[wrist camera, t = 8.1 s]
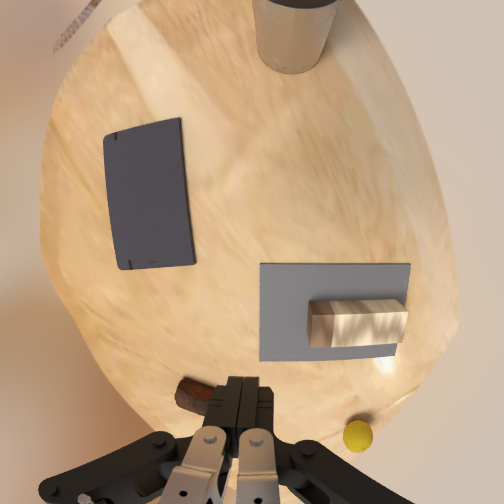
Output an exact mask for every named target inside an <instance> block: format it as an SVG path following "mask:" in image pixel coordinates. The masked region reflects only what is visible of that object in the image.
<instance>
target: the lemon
mask: <svg viewBox="0 0 504 504" xmlns="http://www.w3.org/2000/svg"><path fill="white" fill-rule="evenodd" d="M343 440H344V443H345V445H346V447H347V448H348V449H349V450H350V451H352V452H363V451H365V450H366V449H367V448H369V447H370V445H371V443H372V440H373V434H372V430H371V428H370V426H369V425H368V424H367V423H366V422H364V421H359V420H358V421H353V422H351V423H350V424H348V425H347V426H346V428H345V430H344V432H343Z"/></svg>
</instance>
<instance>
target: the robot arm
mask: <svg viewBox="0 0 504 504" xmlns="http://www.w3.org/2000/svg"><path fill="white" fill-rule="evenodd" d="M252 3H253V11H254V20H255V28H256V38H257V46H258V52H259V56H260V57H261V59H262V61H263V62H264V63H265V64H266V65H267V66H269V67H270V68H271V69H274V70H276V71H278V72H282V73H287V74H298V73H302V72H305V71H307V70H309V69H311V68H312V67H313V66H315V64H316V63H317V62H318V60H319V58H320V55H321V52H322V50H323V47H324V45H325V42H326V39H327V36H328V34H329V31H330V28H331V25H332V23H333V20H334V17H335V15H336V12H337V9H338V6H339V3H340V0H252ZM273 414H274V393H273V392H272V390H271V388H270V387H259V377H240V376H229V377H228V381H227V385H226V386H221V385H218V386H217V387H216V388H215V389H214V390H213V391H212V393H211V397H210V400H209V404H208V407H207V411H206V414H205V418H204V421H203V425H202V428H200V429H198V430H197V431H196V432H195V434H194V435H193V436H190V437H186V438H177V439H175V438H174V437H173V435H171V434H170V433H168V432H164V431H157V432H153V433H151V434H149V435H147V436H145V437H143V438H141V439H139V440H137V441H135V442H133V443H131V444H129V445H127V446H125V447H122V448H120V449H118V450H116V451H114V452H112V453H110V454H107V455H105V456H103V457H100V458H98V459H96V460H94V461H91V462H89V463H86V464H84V465H82V466H79V467H77V468H74V469H72V470H69V471H67V472H64V473H61V474H58V475H56V476H53V477H50V478H47V479H45V480H43V481H42V482H41V483H40V485H39V488H38V491H39V495H40V497H41V498H42V499H43V500H44V501H45V502H46V503H47V504H146V503H148V502H150V501H152V500H153V499H155V498H157V497H159V496H161V497H160V500H159V502H158V504H223V500H224V496H225V492H226V488H227V485H228V481H229V477H230V473H231V466H232V459H233V458H238V457H239V472H238V475H237V501H236V504H280V496H279V485H283V486H287V488H288V489H289V490H290V491H291V492H292V493H293V494H294V495H295V496H296V497H298V498H299V499H300V500H301V501H302V502H303V503H305V504H414V503H412V502H411V501H409V500H407V499H405V498H403V497H402V496H400V495H398V494H396V493H395V492H393V491H391V490H389V489H388V488H386V487H385V486H383V485H381V484H380V483H378V482H376V481H375V480H373V479H371V478H370V477H368V476H367V475H365V474H363V473H362V472H360V471H359V470H358V469H356V468H355V467H353V466H351V465H350V464H349V463H347V462H346V461H344V460H343V459H341V458H340V457H338V456H337V455H336V454H334V453H333V452H331V451H330V450H329V449H327V448H326V447H324V446H323V445H322V444H320V443H319V442H317V441H314V440H302V441H299V442H297V443H296V444H289V443H286V442H283V441H281V440H279V439H278V438H277V437H276V436H275V434H274V432H273ZM278 484H279V485H278Z"/></svg>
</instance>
